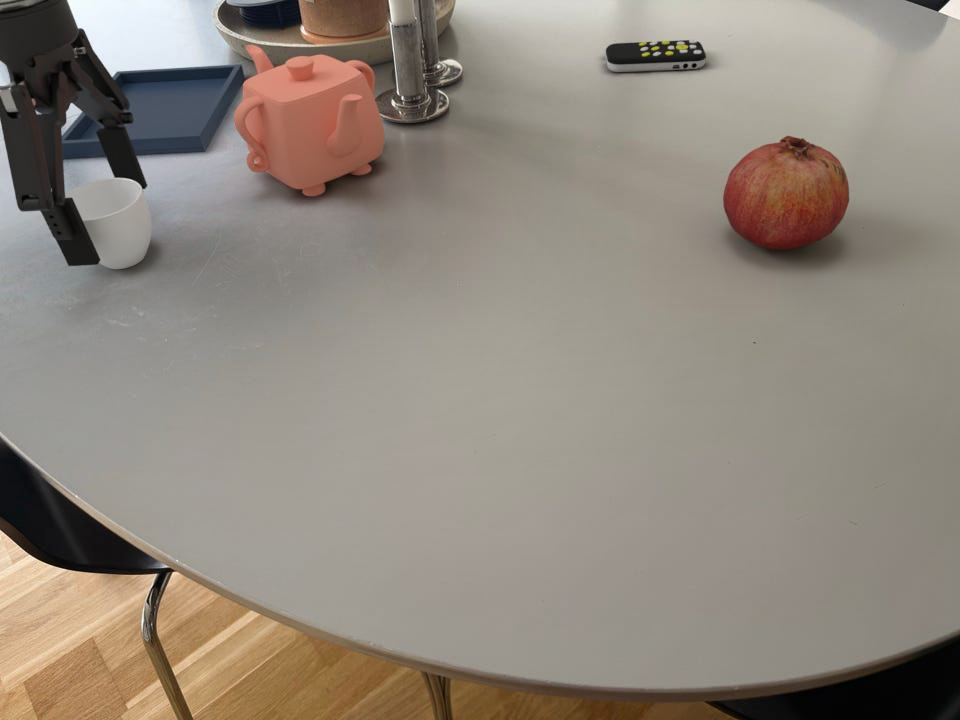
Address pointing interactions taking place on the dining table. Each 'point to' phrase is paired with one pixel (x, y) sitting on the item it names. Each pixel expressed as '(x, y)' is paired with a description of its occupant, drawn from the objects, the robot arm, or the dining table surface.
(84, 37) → the robot arm
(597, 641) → the dining table surface
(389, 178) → the dining table surface
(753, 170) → the fruit
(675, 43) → the remote control
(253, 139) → the teapot
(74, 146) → the tray
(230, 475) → the dining table surface
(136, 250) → the cup
